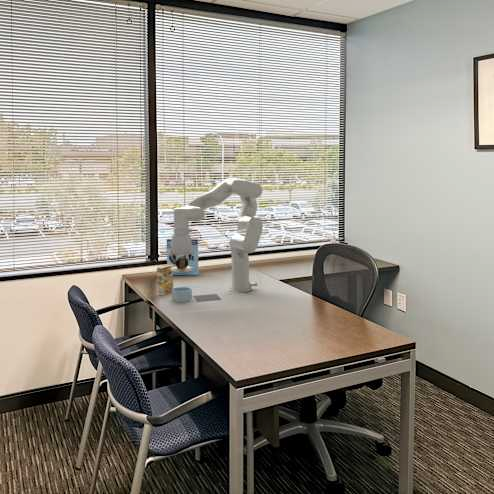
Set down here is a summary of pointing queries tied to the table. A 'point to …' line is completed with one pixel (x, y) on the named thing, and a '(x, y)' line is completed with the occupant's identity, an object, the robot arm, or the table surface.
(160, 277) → the candy box
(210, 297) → the rubber mat
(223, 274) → the table surface
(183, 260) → the brass cover
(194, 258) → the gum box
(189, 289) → the ceramic bowl
